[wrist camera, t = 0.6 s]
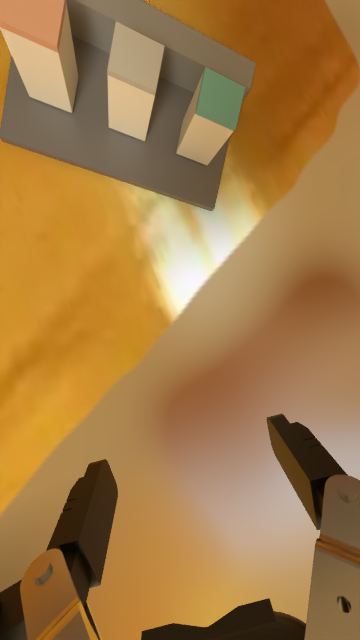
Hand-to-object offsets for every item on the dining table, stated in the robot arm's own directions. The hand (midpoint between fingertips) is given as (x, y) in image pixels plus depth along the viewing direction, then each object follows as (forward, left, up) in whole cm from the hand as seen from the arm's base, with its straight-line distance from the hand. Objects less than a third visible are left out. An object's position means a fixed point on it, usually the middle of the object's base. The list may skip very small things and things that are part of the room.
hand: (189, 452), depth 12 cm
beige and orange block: (-15, +28, -23) cm, 39 cm away
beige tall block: (-7, +28, -23) cm, 36 cm away
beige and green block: (+2, +28, -23) cm, 36 cm away
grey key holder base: (-7, +29, -24) cm, 38 cm away
